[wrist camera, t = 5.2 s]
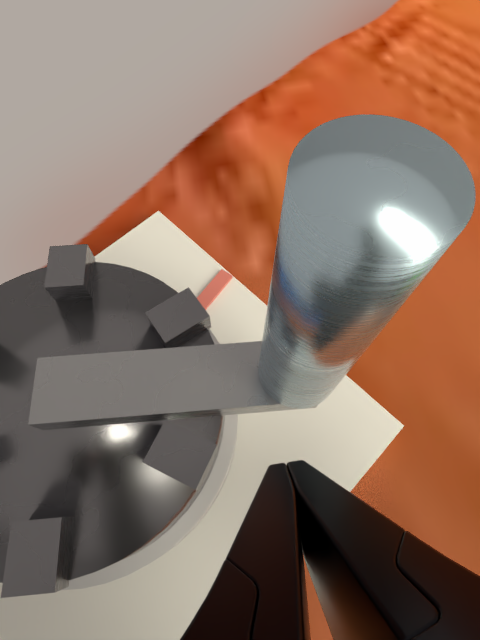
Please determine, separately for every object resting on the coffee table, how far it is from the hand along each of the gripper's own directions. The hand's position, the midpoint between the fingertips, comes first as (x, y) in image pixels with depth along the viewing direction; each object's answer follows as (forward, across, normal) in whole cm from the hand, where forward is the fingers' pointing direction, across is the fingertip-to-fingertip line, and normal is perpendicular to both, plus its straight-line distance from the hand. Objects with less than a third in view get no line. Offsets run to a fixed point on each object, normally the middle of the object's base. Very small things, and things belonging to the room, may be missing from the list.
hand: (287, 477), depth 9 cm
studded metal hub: (+7, -5, -1) cm, 9 cm away
